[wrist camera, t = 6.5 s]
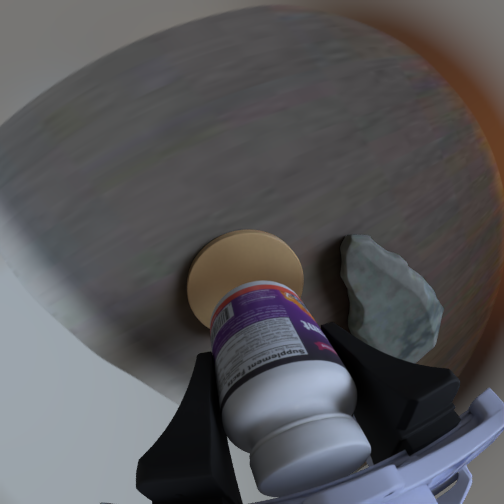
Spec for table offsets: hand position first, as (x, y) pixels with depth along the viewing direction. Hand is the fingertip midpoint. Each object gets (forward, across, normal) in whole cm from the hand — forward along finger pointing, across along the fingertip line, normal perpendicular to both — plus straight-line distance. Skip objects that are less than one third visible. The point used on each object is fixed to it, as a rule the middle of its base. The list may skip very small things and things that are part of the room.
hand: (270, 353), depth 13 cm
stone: (+8, -12, +5) cm, 15 cm away
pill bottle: (+3, 0, 0) cm, 3 cm away
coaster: (+7, 0, 0) cm, 7 cm away
